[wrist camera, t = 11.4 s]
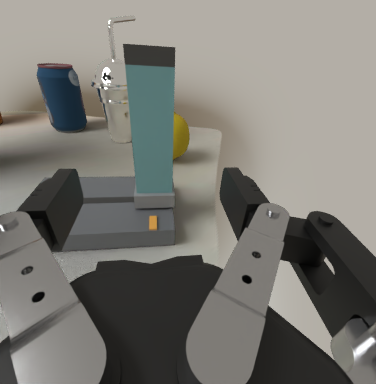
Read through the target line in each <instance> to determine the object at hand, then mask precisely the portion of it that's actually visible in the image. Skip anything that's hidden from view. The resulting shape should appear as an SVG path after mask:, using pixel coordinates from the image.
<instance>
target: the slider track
mask: <svg viewBox="0 0 376 384" xmlns="http://www.w3.org/2000/svg"><path fill="white" fill-rule="evenodd" d="M47 179H48V178H44V179H43V181H45V180H47ZM79 180H80V184H81V188H82V191H83V197H84V200H83V205H82V207H81V210H80V212H79V214H78V216H77V218H76V220H75V223H74V225H73V227H72V229H71V231H70V233H69V236H68V238H67V240H66V242H65V244H64V246H63V249H62V251H77V250H94V249H111V248H129V247H146V246H163V245H174V244H175V226H174V217H173V208H172V207H168V208H138V209H135V204H134V191H135V184H136V180H135V177H79ZM43 181H42V182H43ZM42 182H41V183H42ZM52 252H60V251H52Z"/></svg>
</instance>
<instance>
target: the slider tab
mask: <svg viewBox="0 0 376 384" xmlns="http://www.w3.org/2000/svg"><path fill="white" fill-rule="evenodd" d="M123 48H124V58H125V70H126V81H127V92H128V103H129V114H130V125H131V136H132V147H133V158H134V169H135V180H136V184H135V191H134V204H135V209H138V208H168V207H175V192H174V185H173V177H172V175H173V126H174V78H175V77H174V76H175V48H174V47H161V46H147V45H131V44H123Z"/></svg>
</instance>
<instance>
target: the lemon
mask: <svg viewBox="0 0 376 384" xmlns="http://www.w3.org/2000/svg"><path fill="white" fill-rule="evenodd" d="M188 144H189V128H188V125H187V123H186V121H185V120H184V119H183V118H182V117H181V116H180V115H178V114H176V113H175V112H174V126H173V160H174V159H175V158H177V157H179V156H181V155H183V154H184V152H185V151H186V150H187V147H188Z"/></svg>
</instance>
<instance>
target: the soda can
mask: <svg viewBox="0 0 376 384" xmlns="http://www.w3.org/2000/svg"><path fill="white" fill-rule="evenodd" d="M37 78H38V82H39V85H40V88H41V92H42V95H43V98H44V102H45V105H46V109H47V112H48V115H49V119H50V122H51V125H52V126H53V127H54V128H55V129H56V130H57V131H59V132H65V133H69V132H77V131H81V130H83V129H84V128H85V126H86V123H87V119H86V114H85V109H84V105H83V100H82V95H81V90H80V86H79V80H78V76H77V74H76V73H75V71H74V70H73V68H72V65H69V64H51V63H50V64H49V63H48V64H47V63H46V64H38V72H37Z"/></svg>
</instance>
